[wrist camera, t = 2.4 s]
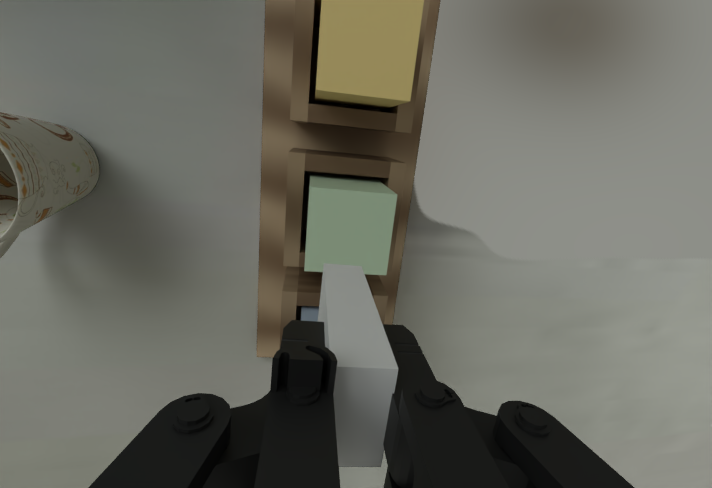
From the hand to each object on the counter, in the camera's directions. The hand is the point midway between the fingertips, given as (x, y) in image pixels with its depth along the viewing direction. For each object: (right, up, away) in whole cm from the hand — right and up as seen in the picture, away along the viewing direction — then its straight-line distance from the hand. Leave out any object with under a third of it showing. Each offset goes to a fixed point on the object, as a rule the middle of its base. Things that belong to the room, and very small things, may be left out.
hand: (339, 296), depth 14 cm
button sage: (0, +5, +13) cm, 14 cm away
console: (-1, +6, +17) cm, 19 cm away
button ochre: (+1, +14, +10) cm, 18 cm away
